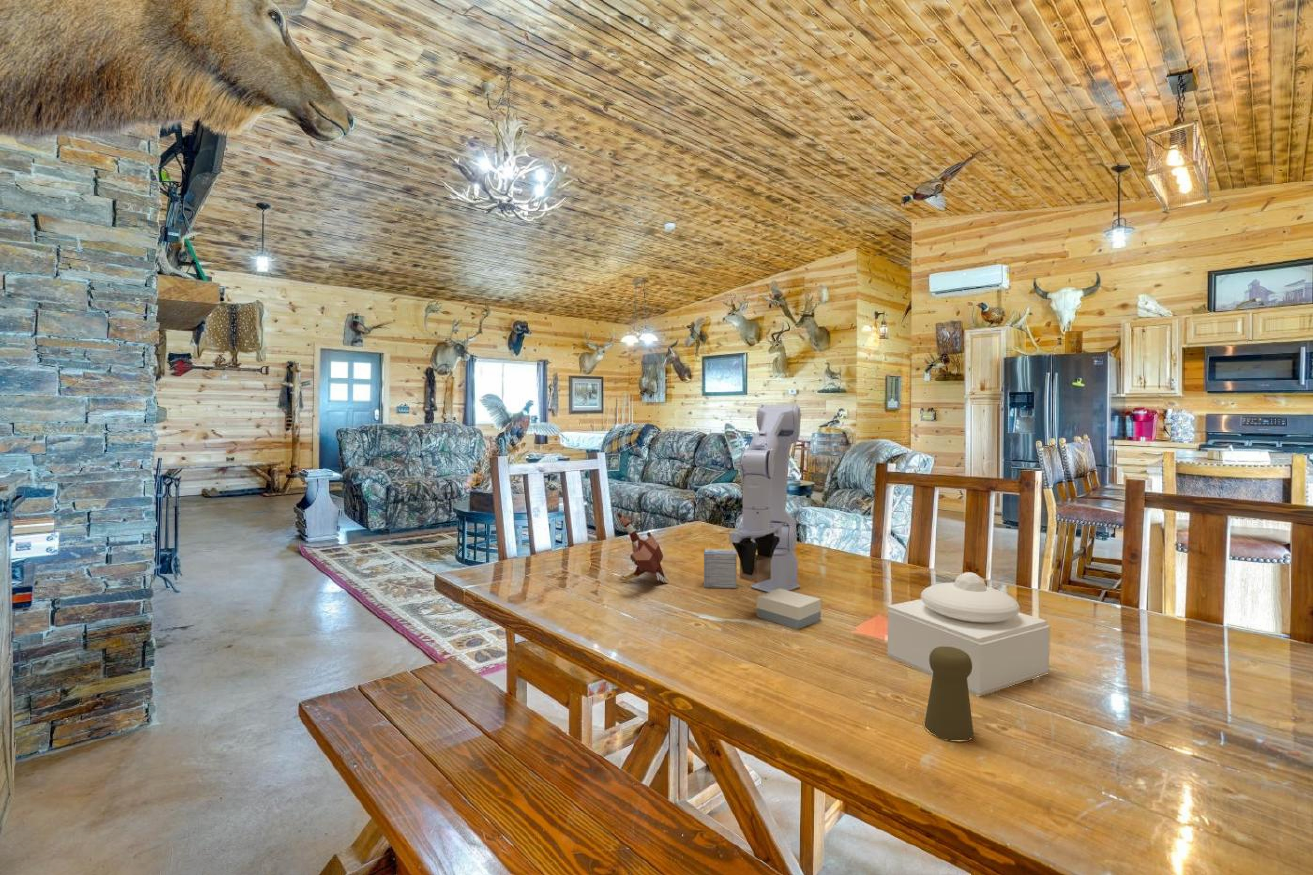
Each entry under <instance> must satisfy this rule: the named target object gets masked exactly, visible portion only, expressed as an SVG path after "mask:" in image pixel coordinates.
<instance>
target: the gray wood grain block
mask: <svg viewBox="0 0 1313 875" xmlns="http://www.w3.org/2000/svg"><path fill="white" fill-rule="evenodd" d="M703 550H704V551H703V588H706V589H708V588H710V589H713V588H715V589H716V588H717V589H737V587H738V586H737V585H738V582H737V580H738V578H737V577H738V576H737V573H738V572H737V571H738V570H737V569H738V568H737V567H738V564H737V563H738V562H737V560H738V559H737V558H738V553H737V551H736V549H735V548H734V549H733V548H732V549H731V548H705V549H703Z"/></svg>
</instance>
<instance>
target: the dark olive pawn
mask: <svg viewBox="0 0 1313 875" xmlns="http://www.w3.org/2000/svg"><path fill="white" fill-rule="evenodd" d="M929 663H930V667H931V669H932V671H933V676H932V677H931V684H930V690H929V697H928V701H927V706H926V713H925V718H924V723H925V727H926V728H927V729H928V730H929V731H930V732H931V733H933V734H935V735H936V736H938V737H940V738H943V739H947V740H969V739H970V738H972V737H973V735H975V734H974V727H973V716H972V709H971V702H970V693H969V691H968V682H967V677H968V676H969V675H970V674H971V671H972V662H971V658H970V657H969V655H968V654H967V653H966V652H964V651H962V650H960V649H957V648H954V647H946V646H942V647H937V648H934V649H933V650H932V652H931V653H930V656H929ZM925 727H924V728H925ZM940 738H939V739H940ZM973 738H974V737H973ZM943 739H942V740H943Z"/></svg>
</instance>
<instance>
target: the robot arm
mask: <svg viewBox="0 0 1313 875" xmlns="http://www.w3.org/2000/svg"><path fill="white" fill-rule="evenodd" d="M801 414H802V412H801V408H800V406H799V405H798V404H794V405H787V404H786V405H785V404H784V405H783V404H782V405H777V404H776V405H774V404H773V405H771V404H770V405H768V404H766V405H764V404H760V405H759V406H758V407H757V410H756V418H755V419H756V426H757V429H758V431H757V432H756V433H755V434H754V435H753V437H752V439H751V442H750V444H749V446H748V448H747V449H745V450H744V451H742V452H741V453H740V455H739V467H738V468H739V473H740V484H741V486H742V525H739V528H738V529H737V528H736V530H733V531H729V534H728V535H729V537H728V538H729V540H728V541H729V543H730V542H731V544H732V546H733V548H734V549H735V550H736V552H737V557H738V558H739V563H740V562H741V566H742V570H743V574H747V575H752V574H753V570H754V559H755V554H756V553H757V554H756V555H761V556H765V557H769V558H771V579H770V580H766V581H763V582H759V583H754V584H751V585H750V588H752V589H756V590H759V591H761V592H762V591H763V592H765V593H768V592H771V591H774V590H777V589H779V588H780V589H784V590H788V591H793V590H796V589H798V588H801V586H802V585H801V584H798V581H799V580H798V574H799V571H798V570H799V561H798V557H797V555H796V553H795V552H794V551H795V550H796V548H797V547H796V546H797V542H798V541H797V538H798V536H797V534H798V532H797V521H796V519H795V518H794V516H792V515H791V514H790V513H789V512H788V511H786V507H787V495H788V494H787V493H788V492H787V490H788V479H789V478H788V477H789V466H790V464H789V462H790V452H791V447H792V445H793V444H795V443H796V442H798V441H799V438H800V435H801V434H800V433H801V416H802V415H801Z"/></svg>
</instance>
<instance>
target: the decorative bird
mask: <svg viewBox="0 0 1313 875" xmlns="http://www.w3.org/2000/svg"><path fill="white" fill-rule="evenodd" d="M616 516H618V519H619V522H620V524H621V526H623V528H625V530H626V531H627V533H628V535H629V538H630V541H631V548H632V553H630V557H629V558H630V560H631V561H632V563H634V565H635V566H636V568H635V571H633V572H632V573H630V574H628V575H626V576H625V575H623V574H622V575H621V577H619V578H618V580H619V581H621V582H623V583H627V584H628V580H632V579H635V578H637V577H638V578H639V577H640V576H641V575H643V574H645V573H649V574H651V575H653V576H655V577H656V579H657V582H659V583H662V584H665V585H668V584H669V580H668V579H667V578H666V577H665V573H664V570H663V566H662V564H661V562H662V561H663V559H664V553H663V552H662V549H661V547H660V545H659V543H658V541H657V540H656V539H655V537H654V536H653V535H652V534H651V532H649V531H648V532H647V533H646V535H647V538H646V539H645V540H644V539H641V538H640V536H639V534H638V533H637V531H636V529H635V528H634V526H633V525H632V524H631V522H630V520H629V519H628V517H626V516H624V515H623V514H622V513H620V512H619V511H618V513H617V514H616Z"/></svg>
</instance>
